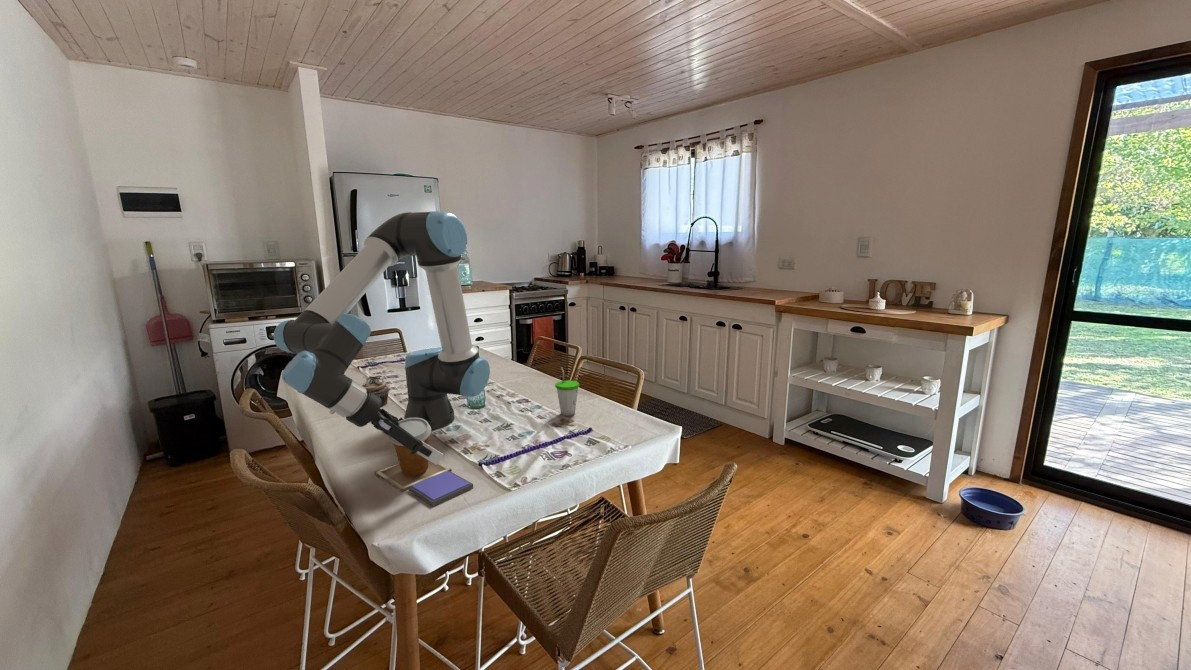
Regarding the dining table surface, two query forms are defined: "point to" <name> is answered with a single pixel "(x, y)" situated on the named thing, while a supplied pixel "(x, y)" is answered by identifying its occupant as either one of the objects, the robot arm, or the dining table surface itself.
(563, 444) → the dining table surface
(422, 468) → the disposable coffee cup
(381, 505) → the dining table surface
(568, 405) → the cup
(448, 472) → the ink pad
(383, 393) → the cupcake
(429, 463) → the brown square tray
